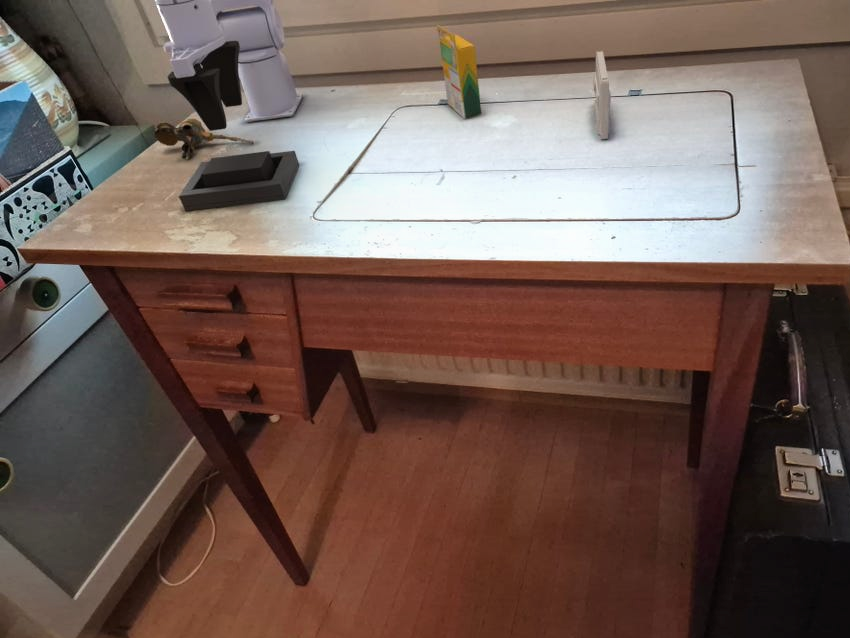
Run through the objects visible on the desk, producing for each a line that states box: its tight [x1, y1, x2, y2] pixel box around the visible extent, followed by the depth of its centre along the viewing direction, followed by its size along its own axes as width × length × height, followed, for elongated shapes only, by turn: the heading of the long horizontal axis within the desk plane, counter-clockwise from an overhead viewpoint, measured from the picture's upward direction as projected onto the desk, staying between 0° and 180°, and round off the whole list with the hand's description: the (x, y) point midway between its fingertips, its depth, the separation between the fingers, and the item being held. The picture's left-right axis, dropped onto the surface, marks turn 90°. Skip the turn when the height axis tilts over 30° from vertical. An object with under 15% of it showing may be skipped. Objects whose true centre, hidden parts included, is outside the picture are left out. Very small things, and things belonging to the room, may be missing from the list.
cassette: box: [593, 49, 612, 140], centre depth 88 cm, size 12×2×8 cm, turn 176°
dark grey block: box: [201, 150, 276, 188], centre depth 87 cm, size 8×5×3 cm, turn 91°
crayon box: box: [436, 24, 482, 120], centre depth 96 cm, size 7×3×12 cm, turn 23°
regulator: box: [153, 118, 254, 160], centre depth 100 cm, size 8×4×15 cm
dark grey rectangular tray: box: [178, 150, 300, 212], centre depth 88 cm, size 10×13×2 cm
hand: (226, 116), depth 83 cm, fingers open, 7 cm apart
